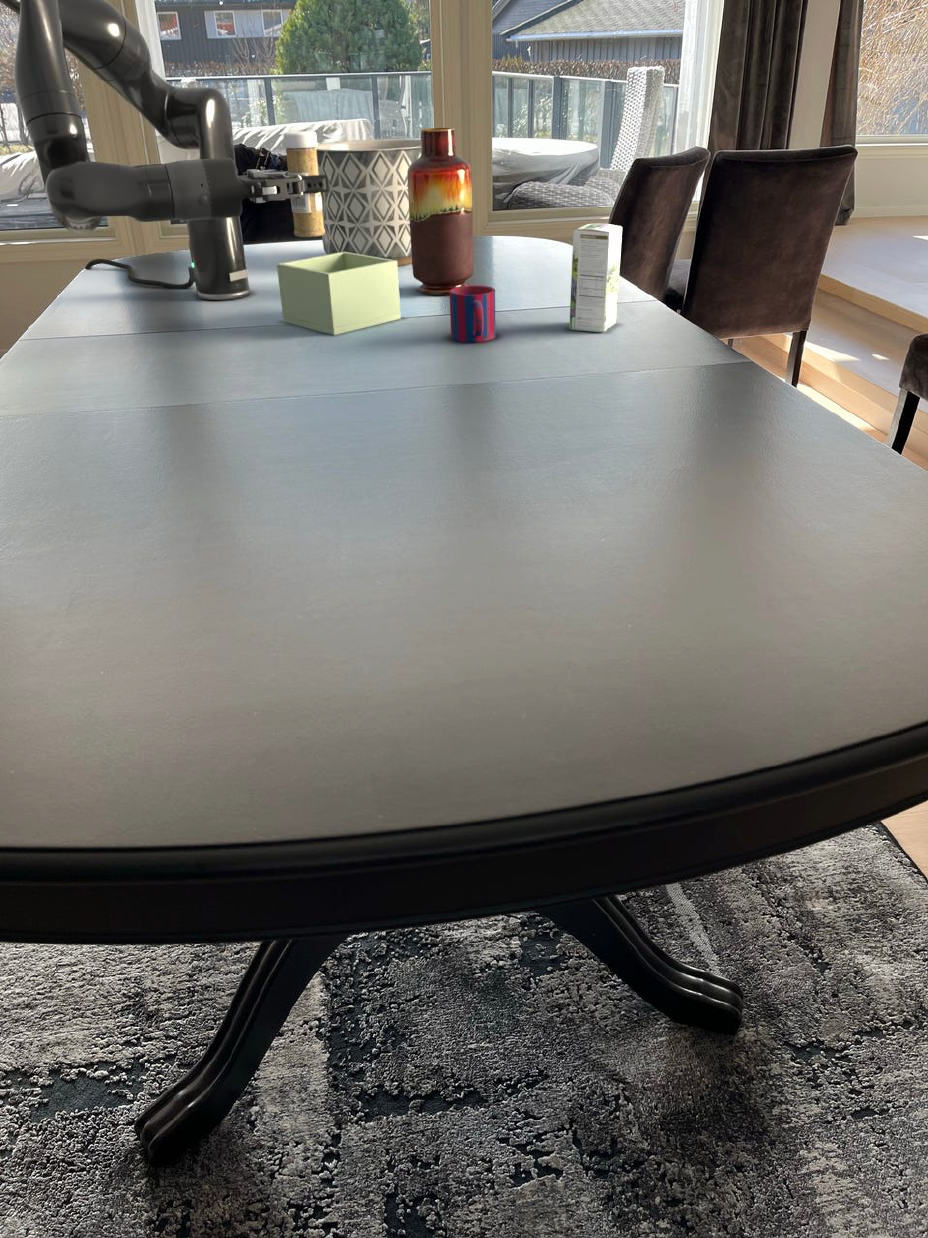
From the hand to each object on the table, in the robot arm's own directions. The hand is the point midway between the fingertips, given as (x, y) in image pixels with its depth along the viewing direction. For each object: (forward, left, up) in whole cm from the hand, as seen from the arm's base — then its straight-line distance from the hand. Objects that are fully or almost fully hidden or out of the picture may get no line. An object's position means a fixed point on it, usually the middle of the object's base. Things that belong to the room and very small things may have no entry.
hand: (323, 181), depth 135 cm
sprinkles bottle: (-1, -3, -7) cm, 8 cm away
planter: (-42, +44, -22) cm, 65 cm away
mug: (+19, +11, -22) cm, 31 cm away
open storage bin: (-7, +6, -22) cm, 23 cm away
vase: (-10, +32, -22) cm, 40 cm away
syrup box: (+28, +28, -22) cm, 45 cm away
